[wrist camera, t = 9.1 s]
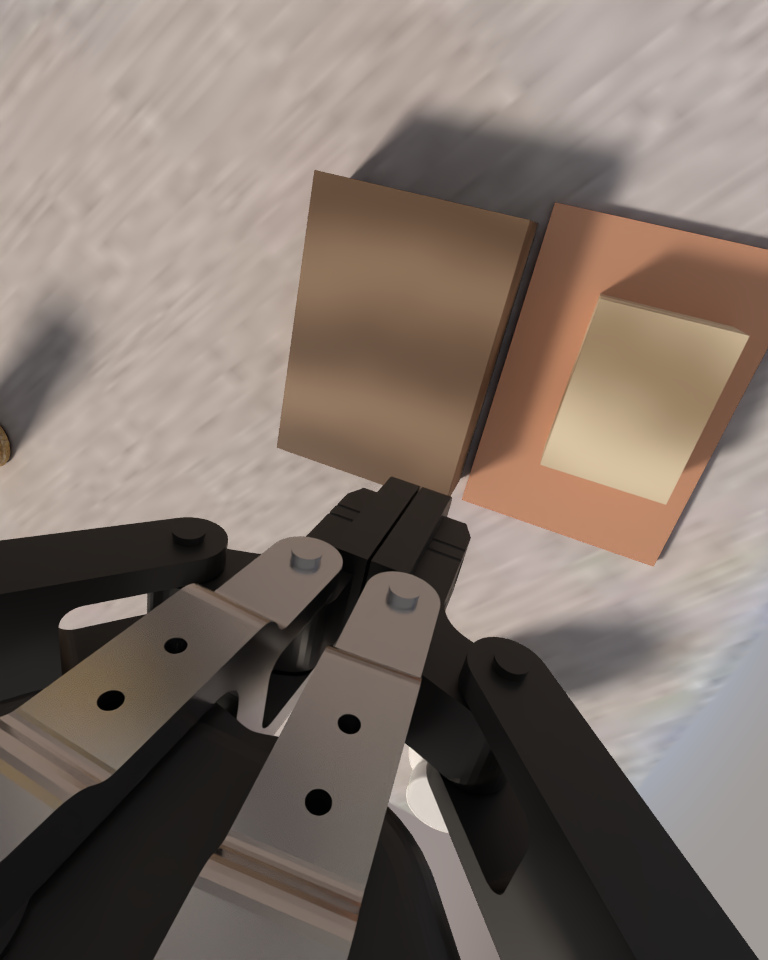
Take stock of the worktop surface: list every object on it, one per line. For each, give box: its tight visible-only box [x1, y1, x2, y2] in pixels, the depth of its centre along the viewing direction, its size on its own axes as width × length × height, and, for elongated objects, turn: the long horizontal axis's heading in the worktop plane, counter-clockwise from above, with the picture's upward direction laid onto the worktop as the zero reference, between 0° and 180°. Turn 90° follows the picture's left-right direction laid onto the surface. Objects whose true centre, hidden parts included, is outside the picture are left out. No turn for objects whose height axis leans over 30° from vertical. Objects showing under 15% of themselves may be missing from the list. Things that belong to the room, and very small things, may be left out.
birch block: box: [540, 294, 749, 505], centre depth 26 cm, size 8×6×3 cm
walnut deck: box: [277, 170, 538, 496], centre depth 29 cm, size 14×10×4 cm
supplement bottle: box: [406, 747, 449, 833], centre depth 34 cm, size 5×5×10 cm
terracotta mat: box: [462, 202, 768, 566], centre depth 28 cm, size 16×11×1 cm
